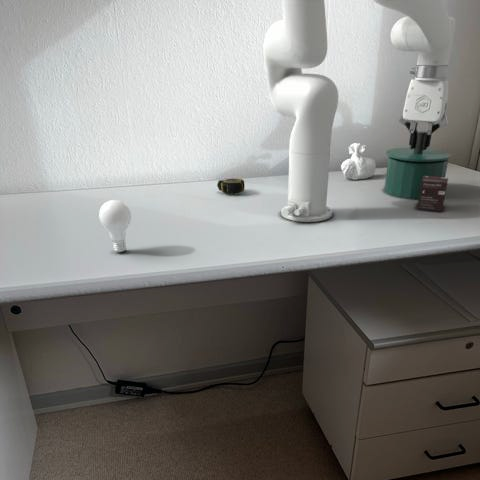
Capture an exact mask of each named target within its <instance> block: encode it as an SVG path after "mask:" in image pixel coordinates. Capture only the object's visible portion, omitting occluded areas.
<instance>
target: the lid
mask: <svg viewBox="0 0 480 480" xmlns="http://www.w3.org/2000/svg"><path fill="white" fill-rule="evenodd" d="M426 132H427V131H423V130H421V131H420V130H417V133H416V139H415V146H414V149H410V147H396V148H390V149H388V150H386V152H385V155H386V156H387V157H391V158H395V159H398V160H402V161H408V162H423V163H425V162H437V161H444V160H447V159H448V160H450V159H451V153H449V152H447V151H445V150H440V149H434V148H427V149H426V150H422V144H423V138H424V135H425V134H426Z"/></svg>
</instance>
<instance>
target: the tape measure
mask: <svg viewBox="0 0 480 480" xmlns="http://www.w3.org/2000/svg"><path fill="white" fill-rule="evenodd" d="M216 185H217V186H216V187H217V188H218V191H220V192H222V193H224V194H230V195H234V196H235V195H239V194H240V193H241V194H242V193H243V192H245V180H243V179H242V178H227V179H219V180H218V181H217V183H216Z"/></svg>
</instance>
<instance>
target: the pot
mask: <svg viewBox="0 0 480 480" xmlns="http://www.w3.org/2000/svg"><path fill="white" fill-rule="evenodd" d="M387 157H388V158H387V165H386V174H385V181H384V182H385V183H384V193H386V194H388V195H389V196H392V197H395V198H400V199H406V200H419V195H420V189H421V183H422V179H423V177H424V176H437V177H445V178H446V175H447V169H448V165H449V159H447V160H444V161H437V162H425V163H423V162H408V161H402V160H398V159H395V158H391V157H389V156H387Z"/></svg>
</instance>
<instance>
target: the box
mask: <svg viewBox="0 0 480 480" xmlns="http://www.w3.org/2000/svg"><path fill="white" fill-rule="evenodd" d="M448 182H449V177H446V176H445V177H437V176H424V177H423V179H422V183H421V189H420V195H419V199H418V201H417V206H416V208H417V210H420V211H421V210H422V211H429V212H430V211H431V212H443V208H444V203H445V197H446V193H447V189H448V188H447V187H448Z"/></svg>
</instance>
